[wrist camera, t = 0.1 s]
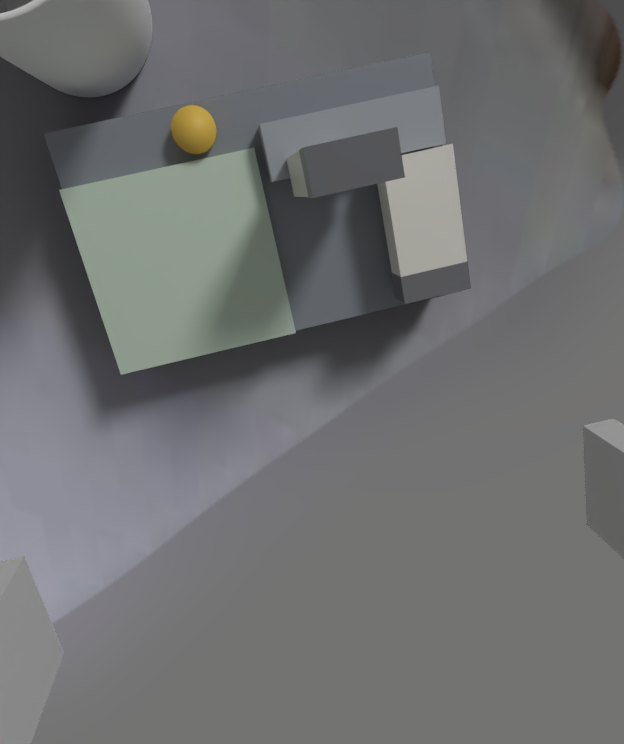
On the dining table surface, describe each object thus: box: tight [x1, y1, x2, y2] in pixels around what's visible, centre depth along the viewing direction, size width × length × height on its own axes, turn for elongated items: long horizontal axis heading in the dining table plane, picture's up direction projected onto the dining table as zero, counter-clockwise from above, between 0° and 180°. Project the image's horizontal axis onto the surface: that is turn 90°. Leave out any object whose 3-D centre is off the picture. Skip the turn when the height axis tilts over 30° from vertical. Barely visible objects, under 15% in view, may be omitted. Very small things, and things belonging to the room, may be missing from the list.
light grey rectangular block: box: [286, 127, 405, 198], centre depth 28 cm, size 2×4×8 cm, turn 102°
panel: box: [43, 52, 471, 375], centre depth 35 cm, size 14×22×7 cm, turn 102°
